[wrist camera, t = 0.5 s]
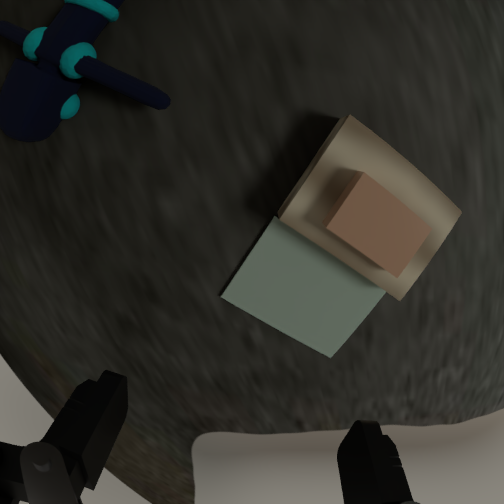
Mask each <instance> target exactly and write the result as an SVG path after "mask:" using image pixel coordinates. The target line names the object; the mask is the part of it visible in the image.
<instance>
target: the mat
mask: <svg viewBox="0 0 504 504" xmlns="http://www.w3.org/2000/svg"><path fill="white" fill-rule="evenodd" d="M385 293H386V291H385V290H383V289H382V288H380V287H379V286H378V285H376V284H375V283H373V282H372V281H370V280H369V279H367V278H366V277H365V276H363V275H362V274H360V273H359V272H357V271H356V270H354V269H353V268H351V267H350V266H348V265H347V264H346V263H344V262H343V261H341V260H340V259H338V258H337V257H335V256H334V255H332V254H331V253H329V252H328V251H326V250H325V249H323V248H322V247H320V246H319V245H317V244H316V243H314V242H313V241H311V240H310V239H308V238H307V237H305V236H304V235H302V234H300V233H299V232H297V231H296V230H294V229H293V228H291V227H290V226H288V225H287V224H285V223H284V222H282V221H280V220H279V218H277V217H276V216H274V218H273V219H272V221H271V222H270V224H269V225H268V227H267V228H266V230H265V231H264V233H263V234H262V236H261V237H260V239H259V240H258V242H257V243H256V245H255V246H254V248H253V249H252V250H251V252H250V253H249V255H248V256H247V258H246V259H245V261H244V262H243V264H242V265H241V267H240V268H239V270H238V271H237V273H236V274H235V276H234V277H233V279H232V280H231V282H230V283H229V285H228V286H227V288H226V289H225V291H224V292H223V294H222V295H221V297H222V298H223V299H225V300H227V301H228V302H230V303H232V304H234V305H235V306H237V307H239V308H241V309H242V310H244V311H246V312H248V313H249V314H251V315H253V316H255V317H256V318H258V319H260V320H262V321H263V322H265V323H267V324H269V325H271V326H272V327H274V328H276V329H278V330H280V331H281V332H283V333H285V334H287V335H289V336H291V337H292V338H294V339H296V340H298V341H300V342H302V343H303V344H305V345H307V346H309V347H311V348H313V349H315V350H316V351H318V352H320V353H322V354H324V355H326V356H328V357H330V358H331V357H332V356H333V355H334V354H335V353H336V351H337V350H338V349H339V348H340V347H341V346H342V345H343V343H344V342H345V341H346V340H347V339H348V338H349V337H350V335H351V334H352V333H353V332H354V331H355V330H356V328H357V327H358V326H359V325H360V324H361V322H362V321H363V320H364V319H365V318H366V316H367V315H368V314H369V313H370V311H371V310H372V309H373V308H374V306H375V305H376V304H377V303H378V301H379V300H380V299H381V298H382V296H383V295H384V294H385Z"/></svg>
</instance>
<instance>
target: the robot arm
mask: <svg viewBox="0 0 504 504" xmlns="http://www.w3.org/2000/svg"><path fill="white" fill-rule="evenodd" d="M127 411H128V389H127V377H126V376H123V375H120V374H117V373H114V372H111V371H108V370H105V371H104V372H103V373H102V375H101V376H100V378H99V379H98V381H97V382H96V381H93V380H90V379H88V380H86V381H85V382H83V383H82V384H80V385H78V386H77V387H76V389H75V390H74V392H73V393H72V395H71V396H70V399H68V401H67V402H66V404H65V405H64V407H63V408H62V410H61V411H60V413H59V414H58V416H57V417H56V419H55V420H54V422H53V423H52V425H51V427H50V428H49V430H48V431H47V433H46V434H45V436H44V437H43V439H41V441H39V442H33V443H30V444H28V445H27V446H17V445H12V444H8V443H4V442H0V504H19V501H24V502H28V503H29V504H83V503H82V501H81V498H80V496H81V493H82V491H83V489H84V487H86V488H89V489H91V490H94V489H95V486H96V484H97V482H98V479H99V477H100V475H101V473H102V470H103V468H104V466H105V463H106V461H107V459H108V457H109V454H110V452H111V450H112V448H113V445H114V443H115V441H116V439H117V436H118V434H119V432H120V430H121V428H122V425H123V423H124V421H125V418H126V415H127ZM337 462H338V468H339V473H340V480H341V486H342V492H343V499H344V504H420V503H417V502H414V501H413V498H412V495H411V492H410V489H409V485H408V482H407V479H406V476H405V473H404V470H403V468H402V463H401V460H400V458H399V455H398V451H397V449H396V445H395V444H394V443H393V441H392V440H391V439H390V438H389V436H388V435H382V431H381V428H380V425H379V423H378V422H377V421H363V420H357V421H355V422H354V424H353V425H352V427H351V429H350V430H349V432H348V433H347V435H346V436H345V438H344V439H343V441H342V443H341V444H340V446H339V448H338V453H337Z"/></svg>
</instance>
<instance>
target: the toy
mask: <svg viewBox="0 0 504 504" xmlns="http://www.w3.org/2000/svg"><path fill="white" fill-rule="evenodd" d="M123 1H124V0H65V3H66V4H65V5H64V6H63V8H62V9H61V10H60V12H59V13H58V15H57V16H56V17H55V19H54V20H53V22H52V23H51V24H50V25H49V26H48V27H40V28H36V29H34V30H33V31H31V32H30V31H27V30H25V29H23V28H21V27H18V26H16V25H14V24H11V23H9V22H6V21H0V35H1V36H3V37H5V38H7V39H9V40H10V41H12V42H14V43H16V44H18V45H20V46H22V47H23V52H24V54H25V56H26V57H27V58H28V59H29V60H32V61H39V62H38V64H35V63H31V62H28V61H24V60H21V59H17V58H15V60H14V62H13V65H12V67H11V69H10V71H9V73H8V75H7V77H6V80H5V82H4V84H3V87H2V90H1V93H0V128H1V129H2V130H3V132H4V133H5V134H6V135H7V136H9V137H11V138H13V139H16V140H19V141H25V142H35V141H41V140H44V139H46V138H47V137H49V136H50V135H51V134H52V133H53V132H54V130H55V129H56V128H57V127H58V125H59V123H60V122H61V120H62V119H69V118H71V117H73V116H74V115H75V114H76V113H77V112H78V109H79V106H80V100H79V97H78V96H77V94H76V93H77V91H78V89H79V88H80V86H81V84H82V83H80V84H78V83H77V81H76V80H74V79H77V78H81V77H86V78H89V79H91V80H93V81H95V82H98V83H100V84H102V85H104V86H107V87H109V88H111V89H113V90H115V91H117V92H120V93H122V94H124V95H126V96H128V97H130V98H132V99H134V100H136V101H138V102H141V103H143V104H145V105H147V106H150V107H153V108H155V109H158V110H161V109H166V108H167V107H168V106H169V105H170V100H171V99H170V98H169V96H168V95H167V94H166V93H164V92H163V91H161V90H160V89H158V88H156V87H154V86H152V85H150V84H148V83H146V82H144V81H142V80H140V79H137V78H135V77H133V76H131V75H129V74H126V73H124V72H122V71H120V70H117V69H115V68H113V67H110V66H108V65H106V64H104V63H103V62H101V61H99V60H97V59H96V56H97V55H96V51H95V49H94V48H93V46H92V44H93V43H94V41H95V40H96V38H97V37H98V35H99V34H100V33H101V31H102V30H103V28H104V27H105V26H106V24H107V23H108V22H114V21H116V20H117V19H118V17H119V12H118V10H117V9H118V8H119V7H120V5H121V4H122V3H123ZM72 78H73V79H72Z"/></svg>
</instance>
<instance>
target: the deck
mask: <svg viewBox="0 0 504 504" xmlns="http://www.w3.org/2000/svg"><path fill="white" fill-rule="evenodd" d="M357 171H362V172H365V173H366V174H367V175H369V176H370V177H371V178H372V179H374V180H375V181H376V182H378V183H379V184H380V185H381V186H383V187H384V188H385V189H386V190H388V191H389V192H390V193H391V194H393V195H394V196H395V197H396V198H397V199H399V200H400V201H401V202H402V203H403V204H405V205H406V206H407V207H408V208H409V209H410V210H412V211H413V212H414V213H415V214H416V215H417V216H419V217H420V218H421V219H422V220H423V221H424V222H425V223H427V224H428V225H429V226H430V227H431V228H432V230H431V232H430V233H429V235H428V236H427V238H426V239H425V240H424V242H423V243H422V245H421V246H420V248H419V249H418V251H417V252H416V253H415V255H414V256H413V258H412V259H411V260H410V262H409V263H408V265H407V266H406V267H405V269H404V270H403V271H402V273H401V274H400V275H399V277H398V278H396V277H394V276H393V275H392V274H390V273H389V272H388V271H386V270H385V269H384V268H382V267H381V266H380V265H378V264H377V263H375V262H374V261H373V260H371V259H370V258H368V257H367V256H366V255H364V254H363V253H361V252H360V251H359V250H357V249H356V248H354V247H353V246H352V245H350V244H349V243H347V242H346V241H344V240H343V239H342V238H340V237H339V236H337V235H336V234H334V233H333V232H331V231H330V230H328V229H327V228H326V227H325V226H324V225H323V223H322V221H323V220H324V219H325V217H326V216H327V214H328V213H329V211H330V210H331V208H332V207H333V205H334V204H335V203H336V201H337V200H338V198H339V197H340V195H341V194H342V192H343V191H344V189H345V188H346V186H347V185H348V183H349V182H350V180H351V179H352V178H353V176H354V175H355V173H356V172H357ZM461 213H462V211H461V210H460V209H459V208H458V207H457V206H456V205H455V204H454V203H453V202H452V201H451V200H450V199H449V198H448V197H447V196H446V195H445V194H444V193H443V192H442V191H440V190H439V189H438V188H437V187H436V186H435V185H434V184H433V183H432V182H431V181H430V180H429V179H428V178H427V177H426V176H424V175H423V174H422V173H421V172H420V171H419V170H418V169H417V168H416V167H414V166H413V165H412V164H411V163H410V162H409V161H408V160H406V159H405V158H404V157H403V156H402V155H401V154H399V153H398V152H397V151H396V150H395V149H393V148H392V147H391V146H390V145H389V144H387V143H386V142H385V141H384V140H382V139H381V138H380V137H379V136H377V135H376V134H375V133H373V132H372V131H371V130H370V129H368V128H367V127H366V126H364V125H363V124H362V123H360V122H359V121H358V120H356V119H355V118H354V117H352V116H351V115H348V116H345V117H343V118H340V119H339V121H338V122H337V124H336V125H335V127H334V128H333V130H332V131H331V133H330V134H329V136H328V137H327V139H326V140H325V142H324V143H323V145H322V146H321V148H320V149H319V151H318V152H317V154H316V155H315V157H314V158H313V159H312V161H311V162H310V164H309V165H308V167H307V168H306V170H305V171H304V173H303V174H302V176H301V177H300V179H299V180H298V182H297V183H296V185H295V186H294V188H293V189H292V191H291V192H290V194H289V195H288V197H287V198H286V200H285V201H284V203H283V204H282V206H281V207H280V209H279V210H278V217H279V220H280V221H282V222H284V223H285V224H287V225H288V226H290V227H291V228H293V229H294V230H296V231H297V232H299V233H300V234H302V235H304V236H305V237H307V238H308V239H310V240H311V241H313V242H314V243H316V244H317V245H319V246H320V247H322V248H323V249H325V250H326V251H328V252H329V253H331V254H332V255H334V256H335V257H337V258H338V259H340V260H341V261H343V262H344V263H346V264H347V265H348V266H350V267H351V268H353V269H354V270H356V271H357V272H359V273H360V274H362V275H363V276H365V277H366V278H367V279H369V280H370V281H372V282H373V283H375V284H376V285H378V286H379V287H380V288H382V289H383V290H385V291H386V292H388V293H389V294H390V295H392V296H393V297H395V298H396V299H398V300H399V301H400V300H401V299H402V298H403V297H404V295H405V294H406V293H407V291H408V290H409V289H410V287H411V286H412V285H413V283H414V282H415V281H416V279H417V278H418V277H419V275H420V274H421V273H422V271H423V270H424V268H425V267H426V266H427V264H428V263H429V261H430V260H431V259H432V257H433V256H434V254H435V253H436V251H437V250H438V249H439V247H440V246H441V244H442V243H443V241H444V240H445V238H446V237H447V235H448V234H449V232H450V230H451V229H452V227H453V226H454V224H455V223H456V221H457V220H458V218H459V216H460V215H461Z"/></svg>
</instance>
